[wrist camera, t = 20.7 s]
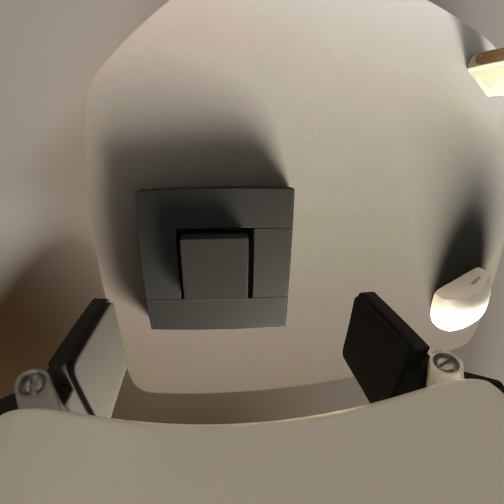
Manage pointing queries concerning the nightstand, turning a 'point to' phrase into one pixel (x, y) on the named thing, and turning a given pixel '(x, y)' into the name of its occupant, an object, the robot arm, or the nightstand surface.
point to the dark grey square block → (214, 264)
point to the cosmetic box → (489, 71)
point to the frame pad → (216, 216)
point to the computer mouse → (461, 300)
